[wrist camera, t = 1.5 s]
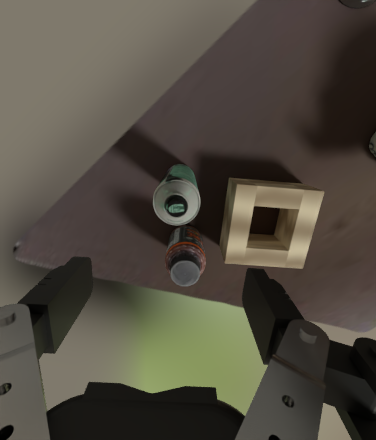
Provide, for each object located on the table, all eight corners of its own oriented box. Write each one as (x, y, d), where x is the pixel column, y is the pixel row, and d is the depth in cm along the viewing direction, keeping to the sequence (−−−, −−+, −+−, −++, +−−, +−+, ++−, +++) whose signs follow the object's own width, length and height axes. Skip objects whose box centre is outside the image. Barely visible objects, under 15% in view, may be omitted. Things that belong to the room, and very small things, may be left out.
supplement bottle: (208, 235, 46) (217, 269, 34) (190, 260, 47) (191, 300, 35) (181, 217, 44) (179, 246, 32) (162, 243, 46) (154, 279, 34)
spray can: (159, 174, 42) (137, 201, 23) (184, 157, 41) (183, 171, 22) (176, 198, 43) (168, 243, 24) (200, 183, 42) (212, 217, 23)
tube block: (229, 177, 42) (237, 184, 35) (302, 183, 42) (324, 191, 36) (219, 245, 46) (224, 263, 40) (286, 250, 47) (302, 268, 40)
